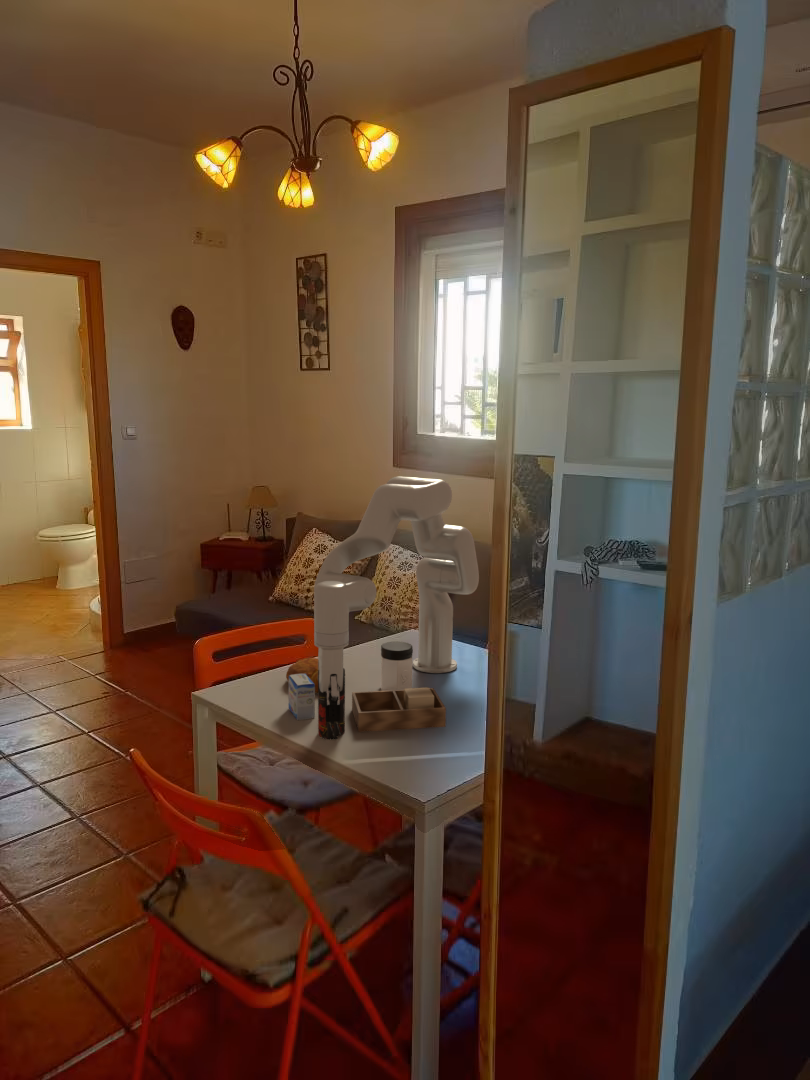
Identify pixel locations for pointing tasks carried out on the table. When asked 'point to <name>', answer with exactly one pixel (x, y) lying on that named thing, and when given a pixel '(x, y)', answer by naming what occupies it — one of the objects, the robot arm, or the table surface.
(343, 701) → the deodorant
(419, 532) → the robot arm
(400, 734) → the table surface
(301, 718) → the medicine box
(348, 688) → the table surface
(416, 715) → the box
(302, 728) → the table surface
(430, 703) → the beech block
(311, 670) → the croissant
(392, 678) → the jar
